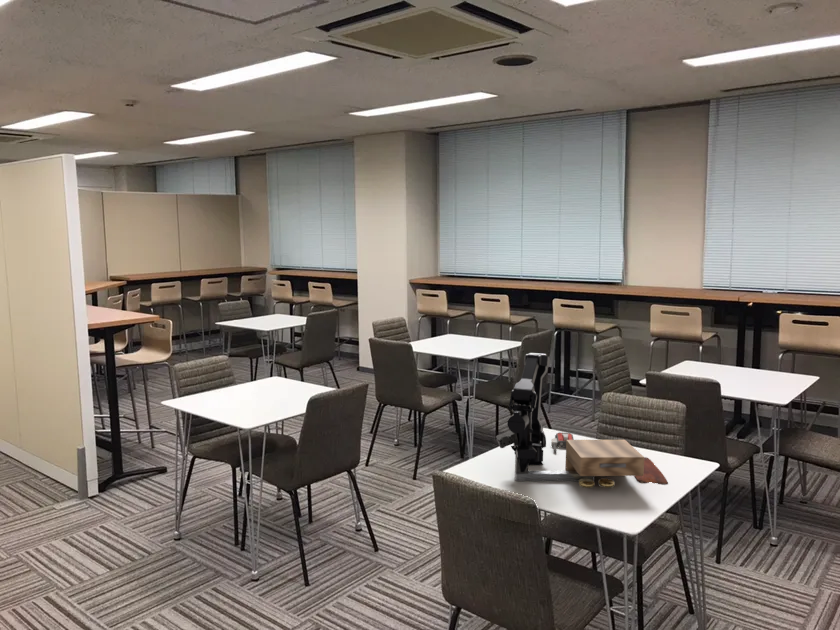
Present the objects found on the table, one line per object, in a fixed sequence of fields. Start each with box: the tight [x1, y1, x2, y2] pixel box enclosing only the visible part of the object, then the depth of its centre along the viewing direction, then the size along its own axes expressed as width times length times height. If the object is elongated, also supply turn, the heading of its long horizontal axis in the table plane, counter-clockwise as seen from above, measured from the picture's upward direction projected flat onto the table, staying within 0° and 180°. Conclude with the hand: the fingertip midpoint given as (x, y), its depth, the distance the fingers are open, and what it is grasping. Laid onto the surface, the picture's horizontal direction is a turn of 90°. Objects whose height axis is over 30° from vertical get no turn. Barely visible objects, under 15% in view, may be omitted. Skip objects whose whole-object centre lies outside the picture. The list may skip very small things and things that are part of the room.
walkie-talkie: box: [551, 431, 575, 453], centre depth 254 cm, size 9×4×20 cm
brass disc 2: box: [597, 477, 615, 489], centre depth 214 cm, size 5×5×2 cm
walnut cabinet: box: [564, 439, 645, 477], centre depth 214 cm, size 20×19×12 cm
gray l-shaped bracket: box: [514, 454, 595, 482], centre depth 218 cm, size 26×3×8 cm, turn 92°
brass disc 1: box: [578, 478, 595, 489], centre depth 214 cm, size 5×5×2 cm
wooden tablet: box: [634, 456, 668, 485], centre depth 228 cm, size 27×10×2 cm, turn 173°
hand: (521, 470), depth 218 cm, fingers closed on gray l-shaped bracket, 2 cm apart
